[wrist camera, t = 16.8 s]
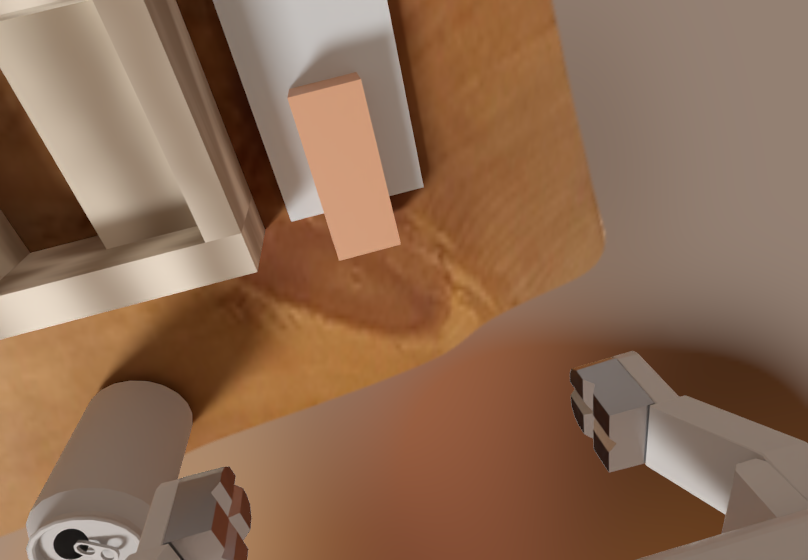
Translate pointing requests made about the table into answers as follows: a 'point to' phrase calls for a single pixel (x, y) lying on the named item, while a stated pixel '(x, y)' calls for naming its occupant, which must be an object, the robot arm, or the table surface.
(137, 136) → the pocket block
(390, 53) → the mat
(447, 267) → the table surface
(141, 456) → the can
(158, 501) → the robot arm
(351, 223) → the bar
